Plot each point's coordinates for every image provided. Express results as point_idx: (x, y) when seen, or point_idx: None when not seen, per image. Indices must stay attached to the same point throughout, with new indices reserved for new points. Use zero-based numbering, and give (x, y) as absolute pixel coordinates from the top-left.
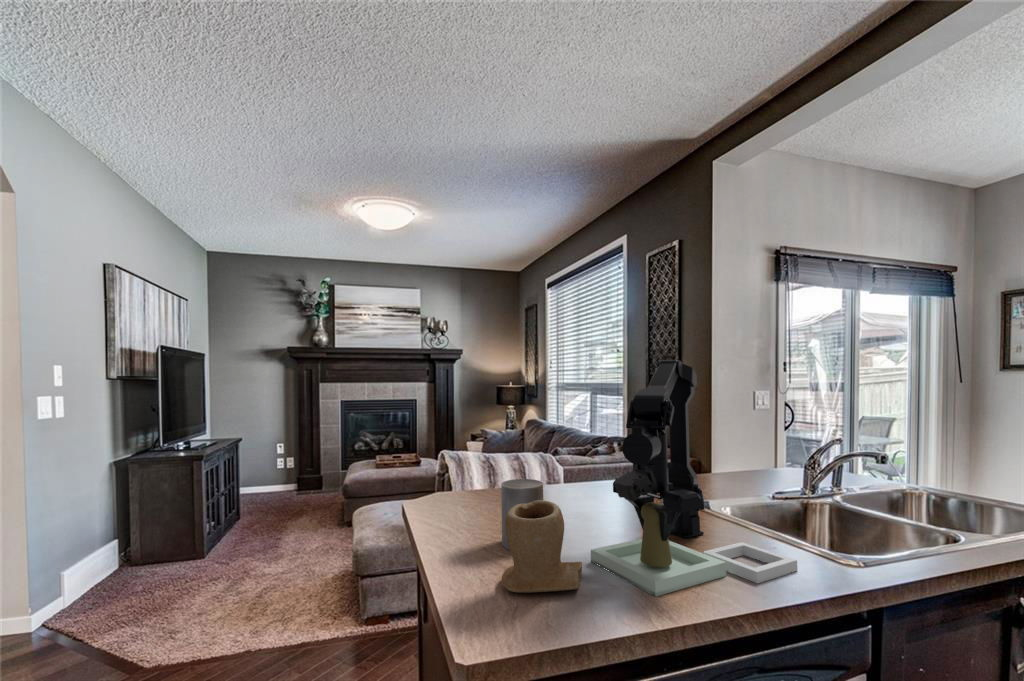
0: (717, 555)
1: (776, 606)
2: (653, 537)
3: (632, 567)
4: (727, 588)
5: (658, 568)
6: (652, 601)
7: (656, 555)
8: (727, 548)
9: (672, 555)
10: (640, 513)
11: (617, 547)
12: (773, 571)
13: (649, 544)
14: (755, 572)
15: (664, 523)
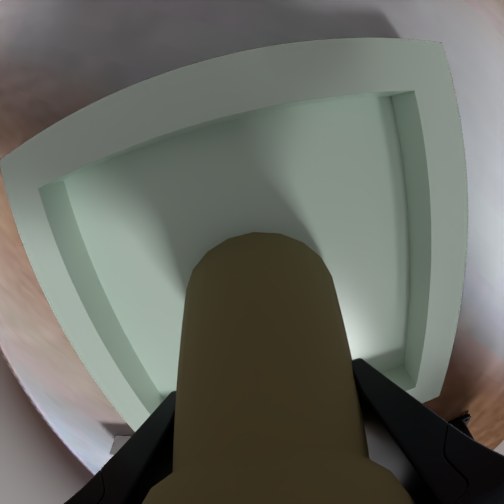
0: None
1: (24, 386)
2: (188, 364)
3: (127, 111)
4: (84, 379)
5: None
6: (14, 132)
7: (187, 301)
8: None
9: None
10: (423, 473)
11: (434, 186)
12: None
13: (213, 310)
14: (112, 452)
15: (91, 484)
